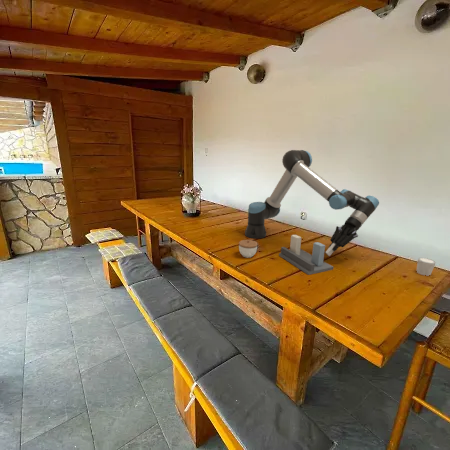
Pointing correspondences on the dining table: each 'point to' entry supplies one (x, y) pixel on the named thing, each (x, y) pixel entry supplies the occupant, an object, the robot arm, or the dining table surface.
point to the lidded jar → (248, 248)
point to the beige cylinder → (425, 266)
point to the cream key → (295, 244)
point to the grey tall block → (318, 254)
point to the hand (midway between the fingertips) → (327, 254)
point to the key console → (303, 261)
